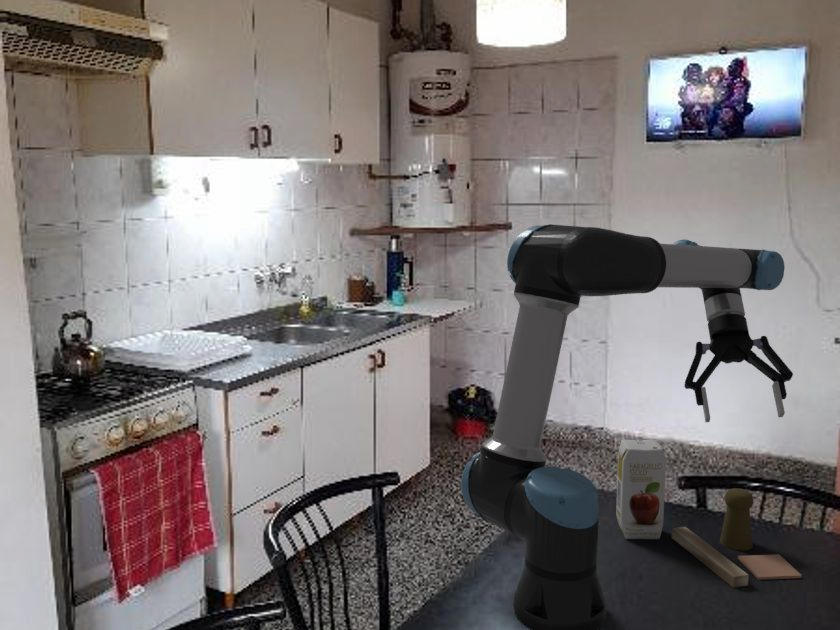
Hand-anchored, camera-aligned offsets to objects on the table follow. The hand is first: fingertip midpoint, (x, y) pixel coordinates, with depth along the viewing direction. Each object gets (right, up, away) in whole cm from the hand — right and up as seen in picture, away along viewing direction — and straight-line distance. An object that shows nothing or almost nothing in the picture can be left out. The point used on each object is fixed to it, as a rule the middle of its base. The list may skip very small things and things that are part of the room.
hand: (744, 418), depth 150 cm
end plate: (+1, -27, -9) cm, 28 cm away
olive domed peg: (-1, -25, +1) cm, 25 cm away
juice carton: (-19, -25, +6) cm, 32 cm away
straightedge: (-9, -26, -5) cm, 28 cm away
